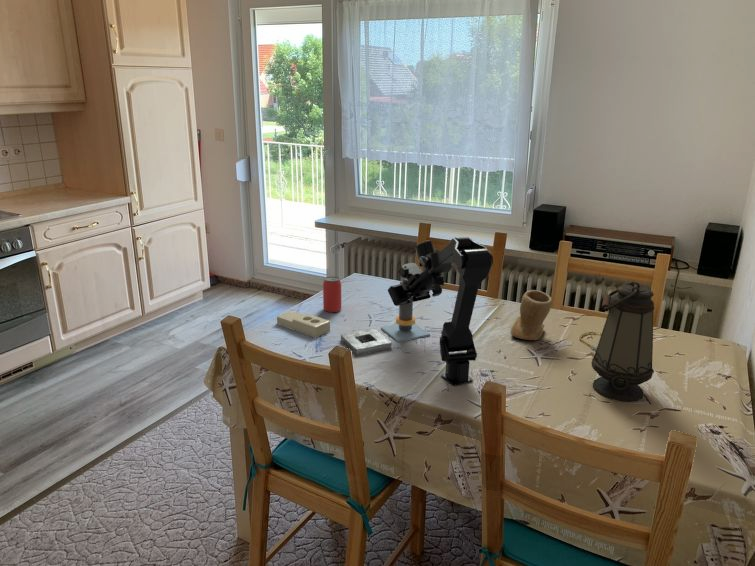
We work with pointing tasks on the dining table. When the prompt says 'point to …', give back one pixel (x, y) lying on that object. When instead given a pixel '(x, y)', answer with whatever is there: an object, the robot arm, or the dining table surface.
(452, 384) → the robot arm
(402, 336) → the mat
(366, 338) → the socket block
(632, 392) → the lantern
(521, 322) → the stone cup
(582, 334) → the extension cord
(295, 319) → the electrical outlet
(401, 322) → the plug
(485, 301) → the dining table surface
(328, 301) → the beer can
